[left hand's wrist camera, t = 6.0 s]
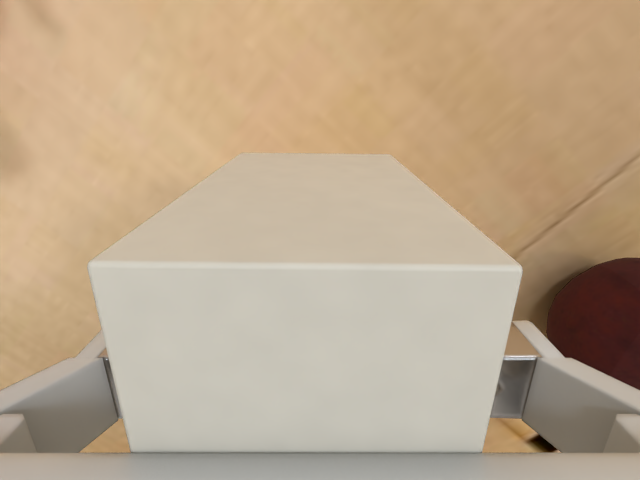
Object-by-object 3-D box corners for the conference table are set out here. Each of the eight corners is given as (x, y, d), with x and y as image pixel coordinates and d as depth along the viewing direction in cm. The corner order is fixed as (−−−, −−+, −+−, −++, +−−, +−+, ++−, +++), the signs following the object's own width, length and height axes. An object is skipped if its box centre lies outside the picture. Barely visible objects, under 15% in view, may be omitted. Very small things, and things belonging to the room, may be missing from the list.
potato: (503, 335, 24) (572, 426, 18) (560, 225, 21) (667, 282, 15) (606, 358, 25) (709, 454, 18) (674, 254, 22) (824, 322, 15)
